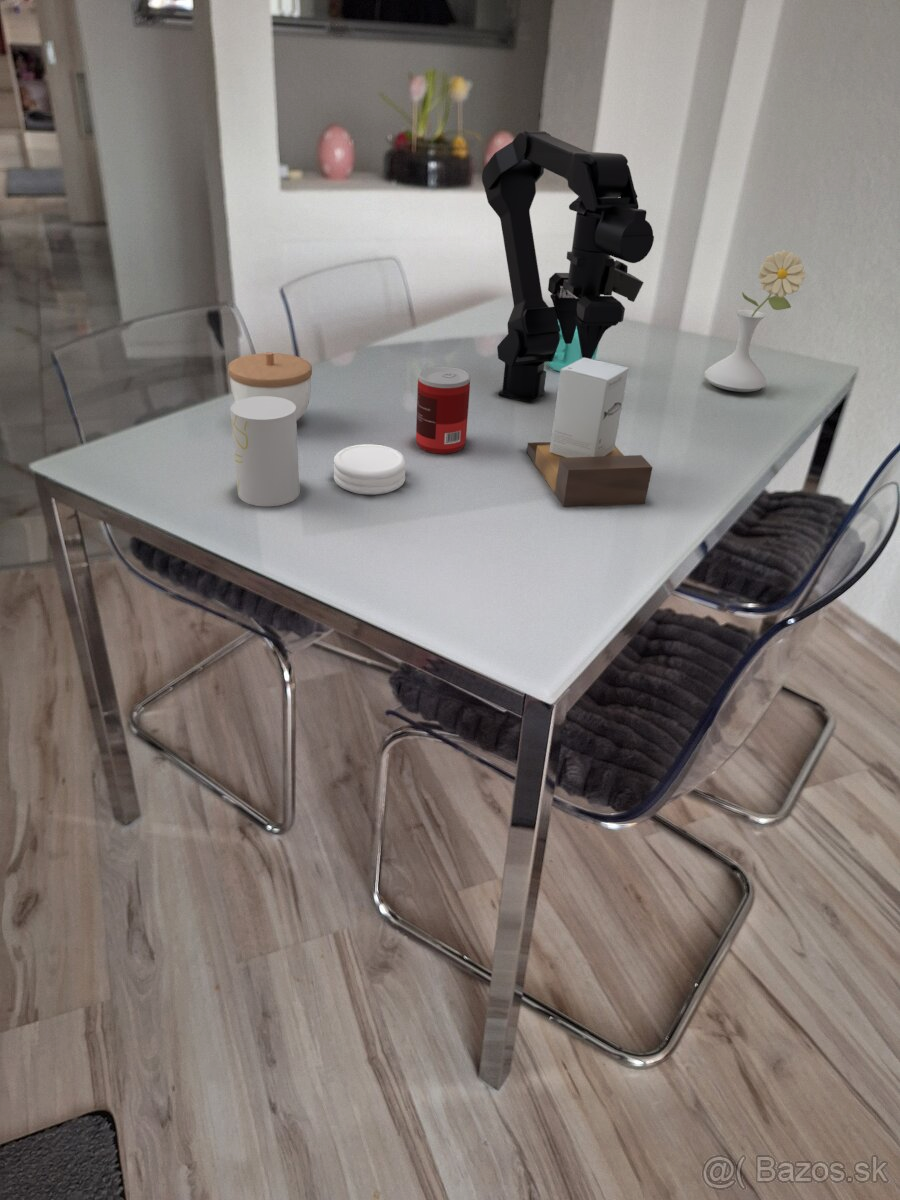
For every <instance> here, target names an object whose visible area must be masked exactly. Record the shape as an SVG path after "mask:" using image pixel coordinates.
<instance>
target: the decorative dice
mask: <svg viewBox="0 0 900 1200" xmlns="http://www.w3.org/2000/svg"><path fill="white" fill-rule="evenodd" d="M558 323H559V321H558ZM559 327H560V325H559ZM560 329H561V328H560ZM559 333H560V341H559V345H558V347H557V350H556V353H555V355H554V358H553V361H552V362H546V364H547V365H548V367H549V368H550V369H552V370H554V371H555V372H559V373H560V372H561V369H562V368H564V367H566V366H568V365H570V364H572V363H574V362H576V361H578V360H580V359H581V358H582V354H581V349H580V343H579V337H578V331H577V326H576V330H575V333H574V337H573V340H572V343H571V344H566V343H565V342H564V339H563V335H562V332H561V331H559ZM598 350H599V345H598V346H597V348H596V350H595V352H594V354H593V357H592V359H593V360H596V357H597V354H598Z"/></svg>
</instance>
